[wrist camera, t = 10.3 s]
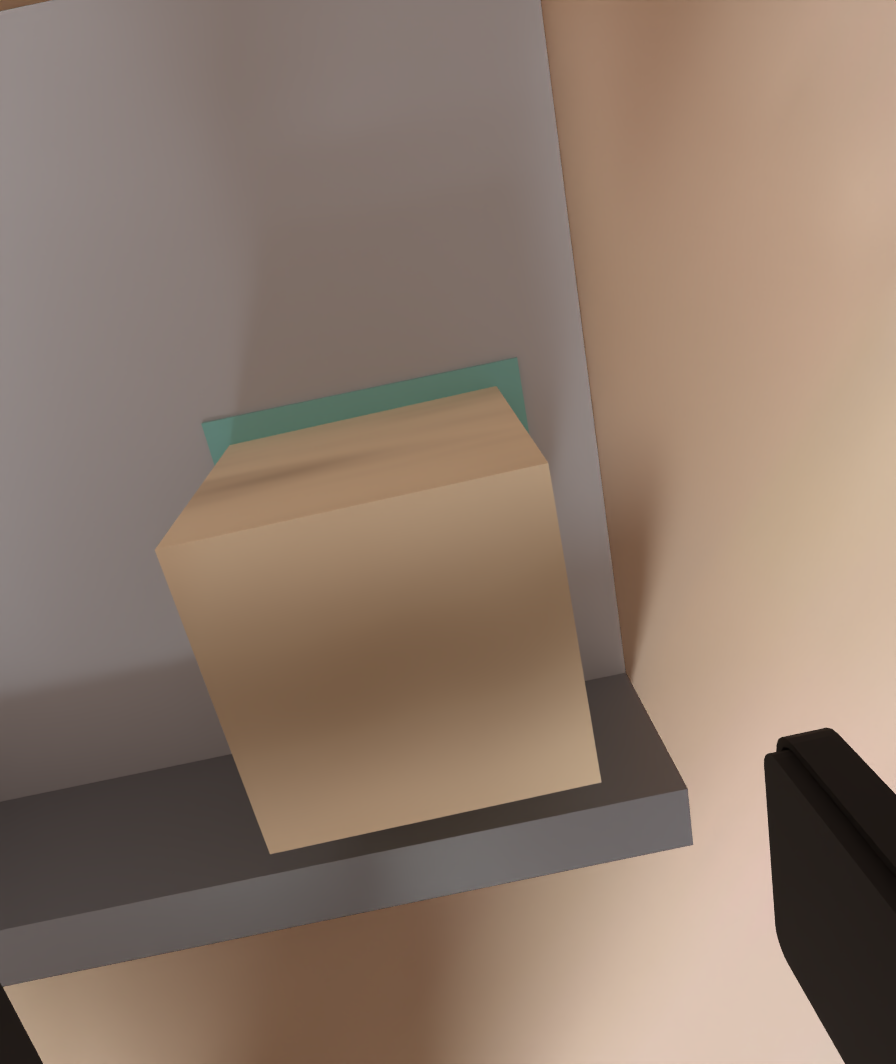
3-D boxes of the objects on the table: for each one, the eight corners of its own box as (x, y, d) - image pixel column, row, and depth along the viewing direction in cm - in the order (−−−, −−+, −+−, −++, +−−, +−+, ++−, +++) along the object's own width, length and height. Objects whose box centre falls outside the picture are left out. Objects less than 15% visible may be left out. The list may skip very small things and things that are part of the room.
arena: (626, 709, 21) (693, 844, 17) (-132, 866, 21) (-276, 1043, 17) (523, -90, 15) (586, -235, 10) (-576, 141, 15) (-1019, 103, 10)
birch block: (540, 622, 19) (601, 782, 14) (303, 674, 20) (270, 853, 14) (496, 385, 17) (548, 462, 12) (229, 445, 17) (154, 550, 12)
